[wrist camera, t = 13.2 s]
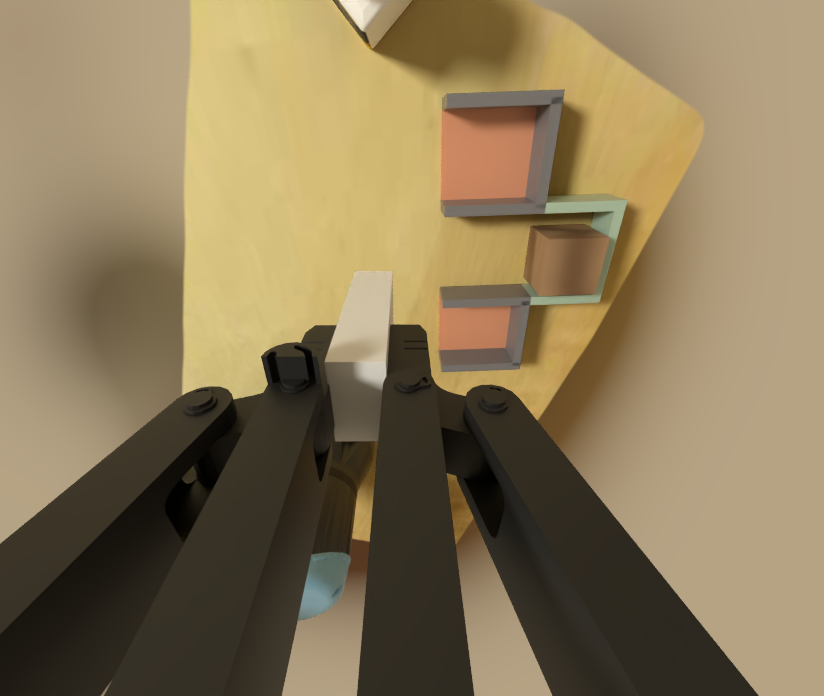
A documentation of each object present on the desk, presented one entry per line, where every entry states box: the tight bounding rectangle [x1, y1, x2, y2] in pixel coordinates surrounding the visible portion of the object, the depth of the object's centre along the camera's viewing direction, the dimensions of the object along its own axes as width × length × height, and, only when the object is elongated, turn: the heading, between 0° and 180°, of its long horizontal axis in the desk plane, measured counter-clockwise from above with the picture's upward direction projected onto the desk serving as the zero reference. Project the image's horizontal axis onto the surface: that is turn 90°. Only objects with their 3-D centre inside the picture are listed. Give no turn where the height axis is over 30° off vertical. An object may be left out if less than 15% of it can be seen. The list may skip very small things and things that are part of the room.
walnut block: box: [523, 224, 610, 296], centre depth 39 cm, size 6×6×6 cm
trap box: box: [439, 90, 628, 372], centre depth 39 cm, size 18×29×4 cm, turn 2°
